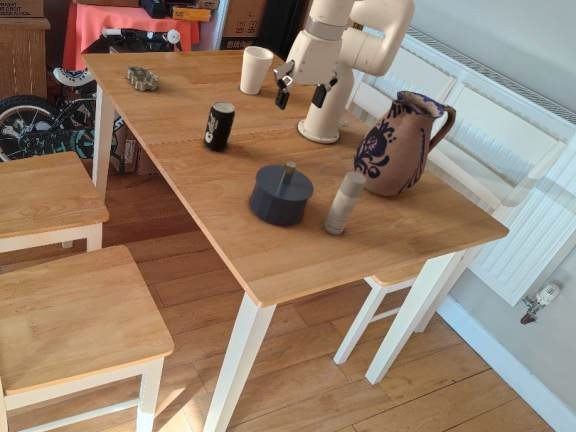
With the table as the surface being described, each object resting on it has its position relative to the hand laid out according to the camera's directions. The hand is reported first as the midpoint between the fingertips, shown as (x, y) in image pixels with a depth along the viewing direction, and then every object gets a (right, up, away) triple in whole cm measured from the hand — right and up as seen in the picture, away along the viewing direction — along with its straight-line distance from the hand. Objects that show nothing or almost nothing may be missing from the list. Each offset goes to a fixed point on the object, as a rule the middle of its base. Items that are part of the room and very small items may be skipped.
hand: (298, 106), depth 112 cm
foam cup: (-4, +18, +58) cm, 61 cm away
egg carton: (-39, +18, +49) cm, 65 cm away
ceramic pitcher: (+28, -16, +27) cm, 42 cm away
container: (+10, -27, +9) cm, 30 cm away
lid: (-2, -16, +6) cm, 18 cm away
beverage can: (-17, -5, +28) cm, 33 cm away
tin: (-3, -22, +11) cm, 25 cm away
